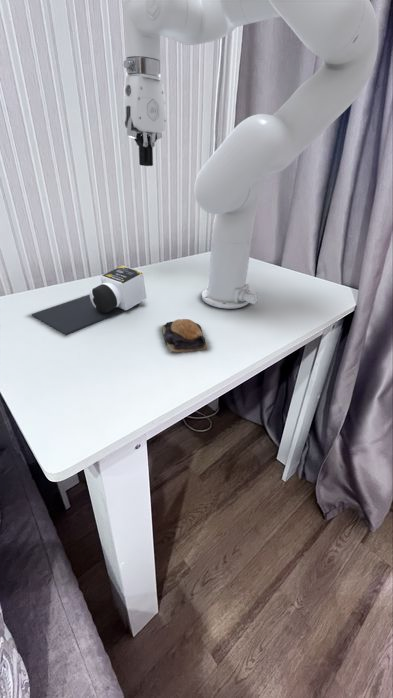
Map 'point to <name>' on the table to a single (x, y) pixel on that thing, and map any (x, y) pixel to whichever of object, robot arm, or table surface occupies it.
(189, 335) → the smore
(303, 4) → the robot arm
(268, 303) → the table surface
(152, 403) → the table surface
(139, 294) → the medicine bottle
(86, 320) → the mat
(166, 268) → the table surface
